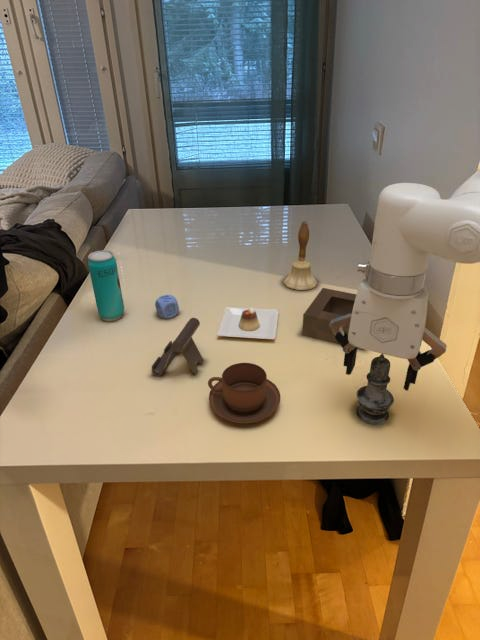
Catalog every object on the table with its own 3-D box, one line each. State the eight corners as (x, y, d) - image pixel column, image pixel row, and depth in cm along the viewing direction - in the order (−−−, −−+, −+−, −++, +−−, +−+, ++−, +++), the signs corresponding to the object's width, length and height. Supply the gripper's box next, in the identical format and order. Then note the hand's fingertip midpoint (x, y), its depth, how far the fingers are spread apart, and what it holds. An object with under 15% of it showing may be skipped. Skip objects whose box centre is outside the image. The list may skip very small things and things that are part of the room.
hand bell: (298, 273, 123) (301, 214, 114) (323, 282, 118) (328, 221, 109) (277, 283, 118) (278, 222, 110) (302, 294, 113) (306, 231, 104)
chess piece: (397, 422, 75) (410, 362, 69) (363, 428, 74) (373, 368, 68) (380, 398, 80) (391, 340, 74) (348, 404, 79) (356, 345, 73)
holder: (378, 319, 102) (381, 299, 100) (364, 349, 92) (367, 328, 90) (321, 306, 107) (322, 287, 105) (302, 335, 97) (303, 314, 95)
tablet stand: (171, 349, 94) (166, 313, 89) (207, 354, 92) (205, 318, 88) (152, 375, 87) (146, 337, 82) (191, 382, 85) (188, 344, 80)
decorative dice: (172, 308, 108) (170, 292, 106) (179, 315, 105) (178, 299, 103) (156, 313, 106) (154, 297, 104) (163, 320, 103) (161, 304, 101)
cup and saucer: (213, 434, 73) (211, 404, 70) (206, 386, 84) (204, 358, 80) (287, 424, 75) (289, 395, 72) (271, 378, 85) (272, 351, 82)
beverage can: (128, 318, 104) (118, 256, 97) (103, 325, 102) (90, 262, 94) (120, 307, 109) (110, 247, 101) (96, 314, 106) (83, 253, 98)
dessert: (216, 339, 96) (215, 320, 94) (226, 310, 106) (225, 292, 104) (274, 343, 95) (275, 323, 92) (278, 313, 105) (279, 295, 102)
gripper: (326, 276, 64) (317, 376, 73) (461, 302, 58) (433, 408, 67) (341, 256, 70) (331, 351, 79) (466, 277, 63) (439, 378, 72)
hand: (378, 377), depth 73 cm, fingers open, 8 cm apart
